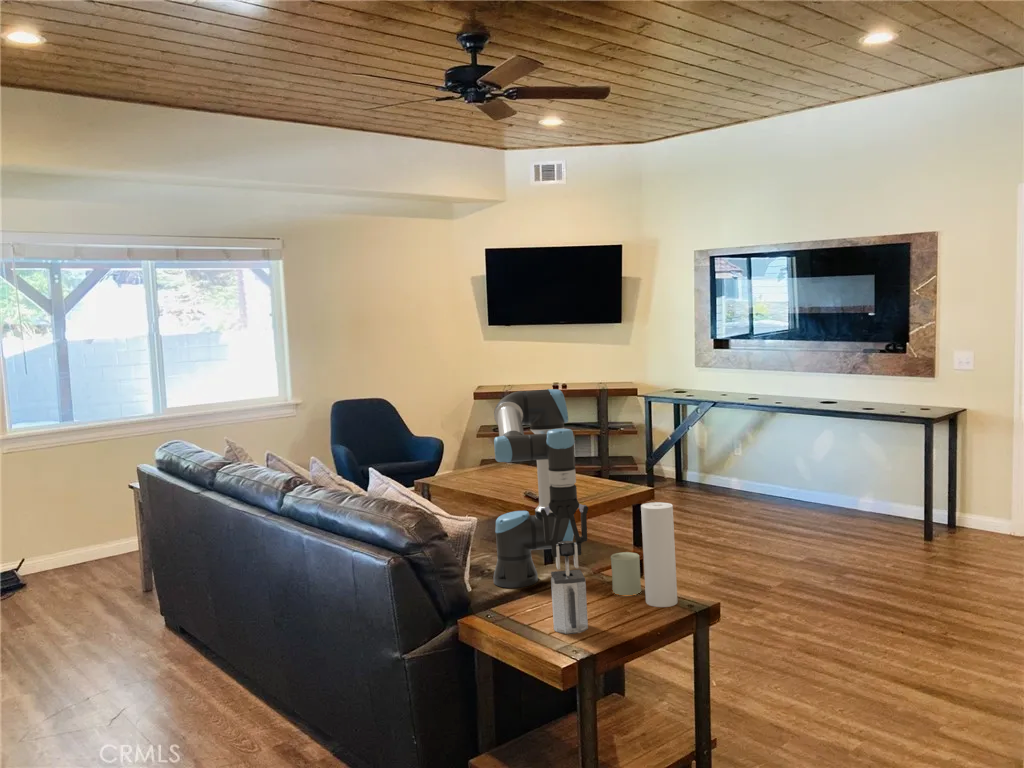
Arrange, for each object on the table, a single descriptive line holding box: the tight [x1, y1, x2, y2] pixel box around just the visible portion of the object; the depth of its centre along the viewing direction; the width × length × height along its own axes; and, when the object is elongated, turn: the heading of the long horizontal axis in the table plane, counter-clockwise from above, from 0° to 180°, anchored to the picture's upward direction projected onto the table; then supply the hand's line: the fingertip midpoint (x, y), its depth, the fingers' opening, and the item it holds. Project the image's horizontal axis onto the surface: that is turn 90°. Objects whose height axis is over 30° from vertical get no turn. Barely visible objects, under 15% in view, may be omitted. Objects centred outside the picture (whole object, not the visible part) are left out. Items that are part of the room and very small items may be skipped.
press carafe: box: [550, 569, 589, 635], centre depth 213 cm, size 12×10×15 cm
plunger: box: [558, 540, 575, 576], centre depth 214 cm, size 7×7×20 cm
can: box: [610, 551, 642, 595], centre depth 243 cm, size 9×9×12 cm
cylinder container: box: [640, 501, 678, 608], centre depth 231 cm, size 9×9×30 cm
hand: (567, 567), depth 214 cm, fingers closed on plunger, 4 cm apart
